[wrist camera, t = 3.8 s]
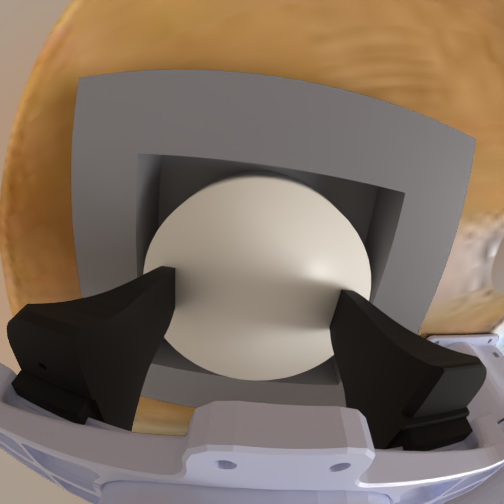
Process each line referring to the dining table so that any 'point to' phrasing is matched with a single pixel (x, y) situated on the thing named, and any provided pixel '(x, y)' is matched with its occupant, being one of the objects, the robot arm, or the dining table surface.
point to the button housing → (261, 159)
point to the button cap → (257, 274)
